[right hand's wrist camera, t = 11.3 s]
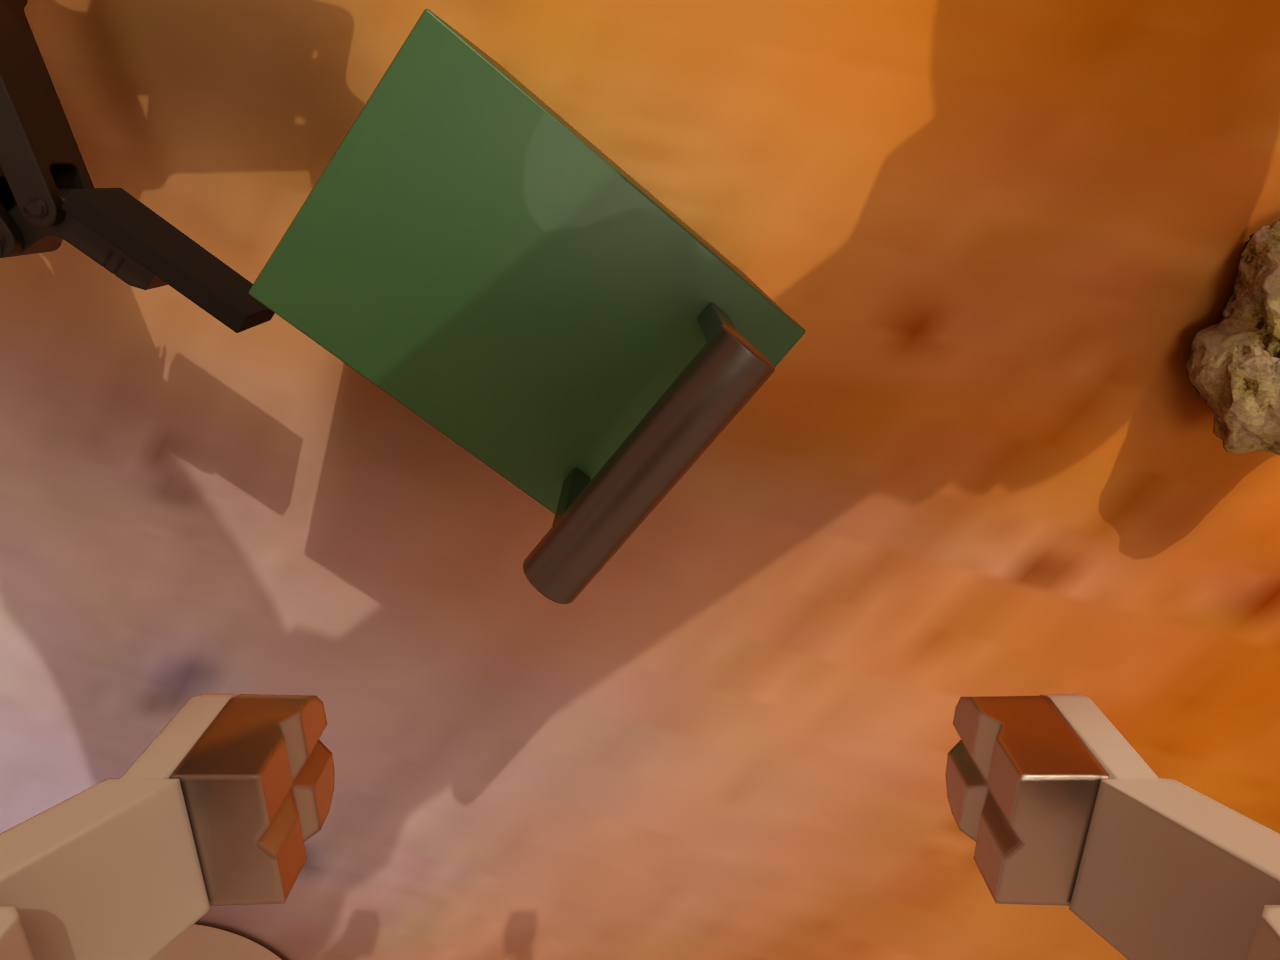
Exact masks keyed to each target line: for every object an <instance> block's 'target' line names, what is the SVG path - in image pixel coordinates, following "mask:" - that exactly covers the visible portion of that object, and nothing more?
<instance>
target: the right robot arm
mask: <svg viewBox="0 0 1280 960" xmlns="http://www.w3.org/2000/svg"><path fill="white" fill-rule="evenodd" d="M326 725H327V720H326V715H325V710H324V705H323V702H322V701H321V700H320V699H319V698H318V697H317V696H304V695H257V694H240V695H236V694H200V695H197V696H194V697H191V698H190V699H189V700H188V701H187V703H186V704H185V705H184V706H183V707H182V708H181V710H180V711H179V712H178V713H177V714H176V715H175V716H174V718H173V719H172V720H171V721H170V722H169V723H168V725H167V726H166V727H165V728H164V729H163V730H162V731H161V733H160V734H159V735H158V736H157V737H156V738H155V739H154V741H153V742H152V743H151V744H150V745H149V746H148V748H147V749H146V750H145V751H144V752H143V753H142V754H141V756H140V757H139V758H138V759H137V760H136V761H135V762H134V764H133V765H132V766H131V767H130V768H129V769H128V771H127V772H126V773H125V774H124V775H123V776H122V777H121V779H106V780H104V781H102V782H100V783H98V784H96V785H94V786H92V787H90V788H89V789H87V790H85V791H83V792H81V793H79V794H77V795H75V796H73V797H71V798H69V799H67V800H65V801H63V802H61V803H59V804H57V805H55V806H54V807H52V808H50V809H48V810H46V811H44V812H42V813H40V814H38V815H36V816H34V817H32V818H30V819H28V820H26V821H24V822H22V823H21V824H19V825H17V826H15V827H13V828H11V829H9V830H7V831H5V832H3V833H1V834H0V960H282V959H281V958H279V957H278V956H277V955H275V954H274V953H273V952H271V951H269V950H268V949H266V948H265V947H263V946H261V945H259V944H257V943H255V942H253V941H251V940H249V939H247V938H245V937H242V936H240V935H237V934H234V933H231V932H228V931H225V930H221V929H218V928H213V927H209V926H203V925H197V924H194V923H196V922H197V921H198V920H199V919H200V918H201V917H203V916H204V915H205V914H206V913H207V912H208V911H210V909H211V908H210V906H213V905H247V904H281V903H285V901H286V899H287V897H288V895H289V893H290V891H291V889H292V887H293V885H294V883H295V881H296V879H297V877H298V875H299V873H300V870H301V868H302V866H303V864H304V862H305V860H306V852H305V847H304V841H306V840H307V839H308V838H310V837H311V836H313V835H314V834H315V833H317V832H318V831H319V830H321V827H322V825H323V823H324V821H325V819H326V817H327V814H328V812H329V809H330V804H331V799H332V795H333V790H334V764H333V757H332V753H331V752H330V751H329V750H328V749H327V747H326V746H325V745H324V744H323V743H322V742H321V741H320V740H319V738H320V736H321V734H322V732H323V731H324V729H325V727H326ZM953 725H954V727H955V729H956V731H957V732H958V734H959V736H960V738H961V740H960V741H959V742H958V743H957V744H956V745H955V746H954V747H953V749H952V750H951V751H950V752H949V753H948V758H947V766H946V774H945V776H946V787H947V798H948V801H949V805H950V808H951V812H952V815H953V817H954V819H955V821H956V823H957V825H958V828H959V830H961V831H962V832H963V833H965V834H966V835H967V836H969V837H970V838H972V839H973V840H974V841H976V847H975V852H974V860H975V862H976V864H977V866H978V868H979V870H980V872H981V874H982V876H983V878H984V880H985V882H986V885H987V887H988V889H989V891H990V893H991V895H992V897H993V899H994V901H995V903H997V904H1032V905H1067V906H1070V907H1069V909H1070V910H1071V911H1072V912H1073V913H1074V914H1076V915H1077V916H1078V917H1079V918H1080V919H1081V920H1083V921H1084V922H1085V923H1086V924H1087V925H1088V926H1090V927H1091V928H1092V929H1093V930H1094V931H1095V932H1097V933H1098V934H1099V935H1100V936H1101V937H1102V938H1104V939H1105V940H1106V941H1107V942H1108V943H1109V944H1111V945H1112V946H1113V947H1114V948H1115V949H1116V950H1118V951H1119V952H1120V953H1121V954H1122V955H1123V956H1125V957H1126V958H1127V959H1128V960H1280V834H1279V833H1277V832H1275V831H1273V830H1271V829H1269V828H1267V827H1265V826H1263V825H1261V824H1259V823H1257V822H1255V821H1253V820H1252V819H1250V818H1248V817H1246V816H1244V815H1242V814H1240V813H1238V812H1236V811H1234V810H1232V809H1230V808H1228V807H1226V806H1224V805H1222V804H1220V803H1219V802H1217V801H1215V800H1213V799H1211V798H1209V797H1207V796H1205V795H1203V794H1201V793H1199V792H1197V791H1195V790H1193V789H1191V788H1189V787H1188V786H1186V785H1184V784H1182V783H1180V782H1178V781H1176V780H1174V779H1159V777H1158V776H1157V775H1156V774H1155V773H1154V772H1153V771H1152V769H1151V768H1150V767H1149V766H1148V765H1147V764H1146V763H1145V761H1144V760H1143V759H1142V758H1141V757H1140V756H1139V754H1138V753H1137V752H1136V751H1135V750H1134V749H1133V748H1132V746H1131V745H1130V744H1129V743H1128V742H1127V741H1126V740H1125V738H1124V737H1123V736H1122V735H1121V734H1120V733H1119V731H1118V730H1117V729H1116V728H1115V727H1114V726H1113V725H1112V723H1111V722H1110V721H1109V720H1108V719H1107V718H1106V717H1105V715H1104V714H1103V713H1102V712H1101V711H1100V710H1099V708H1098V707H1097V706H1096V705H1095V704H1094V703H1093V702H1092V700H1091V699H1090V698H1088V697H1086V696H1084V695H1082V694H1080V693H1079V694H1047V695H1040V696H978V697H961V698H960V700H959V702H958V704H957V706H956V708H955V714H954V720H953Z"/></svg>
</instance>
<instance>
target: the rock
mask: <svg viewBox="0 0 1280 960" xmlns="http://www.w3.org/2000/svg"><path fill="white" fill-rule="evenodd" d="M1186 368H1187V375H1188V377H1189V380H1190V383H1191V384H1192V385H1194V387H1195V388H1196V389H1197V392H1198V393H1199V395H1200V396H1201V397H1203V398H1204V399H1205V401H1206V403H1207V404H1208V405H1209V407H1210V408H1211V409H1212V411H1213V412H1214V414H1215V416H1214V427H1213V433H1214V434H1215V435H1216V436H1217V437H1219V438H1220V439H1222V440H1223V447H1224V449H1225V450H1226V451H1227V452H1230V453H1234V454H1243V453H1247V452H1252V451H1254V450H1258V451H1267V452H1274V453H1276V454H1278V455H1280V221H1277V222H1275V223H1273V224H1270V225H1266V226H1262V227H1261V228H1260V229H1258V230H1257V231H1256V232H1255V233H1254V234H1252V235H1251V236H1250V239H1249V241H1248V242H1246V247H1245V249H1244V251H1243V253H1242V254H1241V257H1240V261H1239V265H1238V277H1237V278H1236V280H1235V286H1234V292H1233V294H1232V295H1231V297H1230V298H1229V300H1228V302H1227V303H1226V304H1225V306H1224V309H1223V312H1222V318H1221V321H1220V322H1219V323H1216V324H1213V325H1211V326H1209V327H1207V328H1205V329H1203V330H1200V331H1199V332H1197V334H1196V335H1195V336H1194V338H1193V340H1192V342H1191V353H1190V356H1189V359H1188V360H1187V362H1186Z"/></svg>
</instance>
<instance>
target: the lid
mask: <svg viewBox="0 0 1280 960" xmlns="http://www.w3.org/2000/svg"><path fill="white" fill-rule="evenodd" d="M249 294H250V295H251V296H252V297H254V298H255V299H257V300H258V301H259V302H261V303H262V304H264V305H265V306H266V307H268V308H269V309H270V310H272V311H273V312H275V313H276V314H277V315H279V316H280V317H282V318H283V319H284V320H286V321H287V322H289V323H290V324H291V325H293V326H294V327H295V328H297V329H298V330H300V331H301V332H302V333H304V334H305V335H307V336H308V337H309V338H311V339H312V340H314V341H315V342H316V343H318V344H319V345H321V346H322V347H323V348H325V349H326V350H327V351H329V352H330V353H332V354H333V355H334V356H336V357H337V358H339V359H340V360H341V361H343V362H344V363H346V364H347V365H348V366H350V367H351V368H353V369H354V370H355V371H357V372H358V373H359V374H361V375H362V376H364V377H365V378H366V379H368V380H369V381H371V382H372V383H373V384H375V385H376V386H378V387H379V388H380V389H382V390H383V391H384V392H386V393H387V394H389V395H390V396H391V397H393V398H394V399H396V400H397V401H398V402H400V403H401V404H403V405H404V406H405V407H407V408H408V409H410V410H411V411H412V412H414V413H415V414H416V415H418V416H419V417H421V418H422V419H423V420H425V421H426V422H428V423H429V424H430V425H432V426H433V427H435V428H436V429H437V430H439V431H440V432H442V433H443V434H444V435H446V436H447V437H448V438H450V439H451V440H453V441H454V442H455V443H457V444H458V445H460V446H461V447H462V448H464V449H465V450H467V451H468V452H469V453H471V454H472V455H473V456H475V457H476V458H478V459H479V460H480V461H482V462H483V463H485V464H486V465H487V466H489V467H490V468H492V469H493V470H494V471H496V472H497V473H499V474H500V475H501V476H503V477H504V478H505V479H507V480H508V481H510V482H511V483H512V484H514V485H515V486H517V487H518V488H519V489H521V490H522V491H524V492H525V493H526V494H528V495H529V496H531V497H532V498H533V499H535V500H536V501H537V502H539V503H540V504H542V505H543V506H544V507H546V508H547V509H549V510H550V511H551V512H553V513H554V514H555V518H554V522H553V526H552V528H551V529H550V530H549V532H548V533H547V534H546V535H545V536H544V538H543V539H542V540H541V541H540V542H539V544H538V545H537V546H536V547H535V548H534V550H533V551H532V552H531V553H530V554H529V556H528V557H527V558H526V559H525V561H524V563H523V570H524V573H525V575H526V577H527V579H528V580H529V582H530V583H531V584H532V585H533V586H534V587H535V588H536V589H537V590H538V591H539V592H540V593H541V594H543V595H544V596H545V597H547V598H548V599H550V600H552V601H554V602H557V603H560V604H568V603H571V602H572V601H574V599H575V598H576V597H577V596H578V595H579V594H580V593H581V591H582V590H583V589H584V588H585V587H586V586H587V585H588V583H589V582H590V581H591V580H592V579H593V578H594V577H595V575H596V574H597V573H598V572H599V571H600V570H601V569H602V567H603V566H604V565H605V564H606V563H607V562H608V561H609V559H610V558H611V557H612V556H613V555H614V554H615V553H616V551H617V550H618V549H619V548H620V547H621V546H622V545H623V543H624V542H625V541H626V540H627V539H628V538H629V537H630V535H631V534H632V533H633V532H634V531H635V530H636V529H637V527H638V526H639V525H640V524H641V523H642V522H643V521H644V519H645V518H646V517H647V516H648V515H649V514H650V513H651V511H652V510H653V509H654V508H655V507H656V506H657V505H658V503H659V502H660V501H661V500H662V499H663V498H664V497H665V496H666V494H667V493H668V492H669V491H670V490H671V489H672V488H673V486H674V485H675V484H676V483H677V482H678V481H679V480H680V478H681V477H682V476H683V475H684V474H685V473H686V472H687V470H688V469H689V468H690V467H691V466H692V465H693V464H694V462H695V461H696V460H697V459H698V458H699V457H700V456H701V454H702V453H703V452H704V451H705V450H706V449H707V448H708V446H709V445H710V444H711V443H712V442H713V441H714V440H715V438H716V437H717V436H718V435H719V434H720V433H721V432H722V430H723V429H724V428H725V427H726V426H727V425H728V424H729V422H730V421H731V420H732V419H733V418H734V417H735V416H736V414H737V413H738V412H739V411H740V410H741V409H742V408H743V406H744V405H745V404H746V403H747V402H748V401H749V400H750V398H751V397H752V396H753V395H754V394H755V393H756V392H757V390H758V389H759V388H760V387H761V386H762V385H763V384H764V382H765V381H766V380H767V379H768V378H769V377H770V376H771V374H772V373H773V372H774V370H775V367H776V365H777V364H778V363H779V362H780V361H781V360H782V359H783V357H784V356H785V355H786V354H787V353H788V352H789V351H790V349H791V348H792V347H793V346H794V345H795V344H796V343H797V341H798V340H799V339H800V338H801V337H802V336H803V334H804V333H805V330H804V329H803V328H802V327H801V326H800V325H799V324H798V323H796V322H795V321H794V320H793V319H792V318H791V317H789V316H788V315H787V314H786V313H785V312H784V311H782V310H781V309H780V308H779V307H778V306H776V305H775V304H774V303H773V302H772V301H771V300H769V299H768V298H767V297H766V296H765V295H764V294H762V293H761V292H760V291H759V290H758V289H757V288H755V287H754V286H753V285H752V284H751V283H750V282H748V281H747V280H746V279H745V278H744V277H742V276H741V275H740V274H739V273H738V272H737V271H735V270H734V269H733V268H732V267H731V266H730V265H728V264H727V263H726V262H725V261H724V260H723V259H721V258H720V257H719V256H718V255H717V254H715V253H714V252H713V251H712V250H711V249H710V248H708V247H707V246H706V245H705V244H704V243H703V242H701V241H700V240H699V239H698V238H697V237H696V236H694V235H693V234H692V233H691V232H690V231H689V230H687V229H686V228H685V227H684V226H683V225H681V224H680V223H679V222H678V221H677V220H676V219H674V218H673V217H672V216H671V215H670V214H669V213H667V212H666V211H665V210H664V209H663V208H662V207H660V206H659V205H658V204H657V203H656V202H654V201H653V200H652V199H651V198H650V197H649V196H647V195H646V194H645V193H644V192H643V191H642V190H640V189H639V188H638V187H637V186H636V185H635V184H633V183H632V182H631V181H630V180H629V179H628V178H626V177H625V176H624V175H623V174H622V173H620V172H619V171H618V170H617V169H616V168H615V167H613V166H612V165H611V164H610V163H609V162H608V161H606V160H605V159H604V158H603V157H602V156H601V155H599V154H598V153H597V152H596V151H595V150H593V149H592V148H591V147H590V146H589V145H588V144H586V143H585V142H584V141H583V140H582V139H581V138H579V137H578V136H577V135H576V134H575V133H574V132H572V131H571V130H570V129H569V128H568V127H567V126H565V125H564V124H563V123H562V122H561V121H559V120H558V119H557V118H556V117H555V116H554V115H552V114H551V113H550V112H549V111H548V110H547V109H545V108H544V107H543V106H542V105H541V104H540V103H538V102H537V101H536V100H535V99H534V98H532V97H531V96H530V95H529V94H528V93H527V92H525V91H524V90H523V89H522V88H521V87H520V86H518V85H517V84H516V83H515V82H514V81H513V80H511V79H510V78H509V77H508V76H507V75H506V74H504V73H503V72H502V71H501V70H500V69H498V68H497V67H496V66H495V65H494V64H493V63H491V62H490V61H489V60H488V59H487V58H486V57H484V56H483V55H482V54H481V53H480V52H479V51H477V50H476V49H475V48H474V47H473V46H471V45H470V44H469V43H468V42H467V41H466V40H464V39H463V38H462V37H461V36H460V35H459V34H457V33H456V32H455V31H454V30H453V29H452V28H450V27H449V26H448V25H447V24H446V23H445V22H443V21H442V20H441V19H440V18H439V17H437V16H436V15H435V14H434V13H432V12H431V11H430V10H429V9H425V10H424V12H423V13H422V15H421V17H420V18H419V20H418V21H417V23H416V25H415V26H414V28H413V29H412V31H411V33H410V34H409V36H408V37H407V39H406V41H405V42H404V44H403V45H402V47H401V49H400V50H399V52H398V53H397V55H396V57H395V58H394V60H393V61H392V63H391V65H390V66H389V68H388V69H387V71H386V73H385V74H384V76H383V77H382V79H381V81H380V82H379V84H378V85H377V87H376V89H375V90H374V92H373V93H372V95H371V97H370V98H369V100H368V101H367V103H366V105H365V106H364V108H363V109H362V111H361V113H360V114H359V116H358V117H357V119H356V121H355V122H354V124H353V125H352V127H351V129H350V130H349V132H348V133H347V135H346V137H345V138H344V140H343V142H342V143H341V145H340V146H339V148H338V150H337V151H336V153H335V154H334V156H333V158H332V159H331V161H330V162H329V164H328V166H327V167H326V169H325V170H324V172H323V174H322V175H321V177H320V178H319V180H318V182H317V183H316V185H315V186H314V188H313V190H312V191H311V193H310V194H309V196H308V198H307V199H306V201H305V202H304V204H303V206H302V207H301V209H300V210H299V212H298V214H297V215H296V217H295V218H294V220H293V222H292V223H291V225H290V226H289V228H288V230H287V231H286V233H285V234H284V236H283V238H282V239H281V241H280V242H279V244H278V246H277V247H276V249H275V250H274V252H273V254H272V255H271V257H270V258H269V260H268V262H267V263H266V265H265V266H264V268H263V270H262V271H261V273H260V274H259V276H258V278H257V279H256V281H255V283H254V284H253V286H252V287H251V289H250V291H249Z"/></svg>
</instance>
